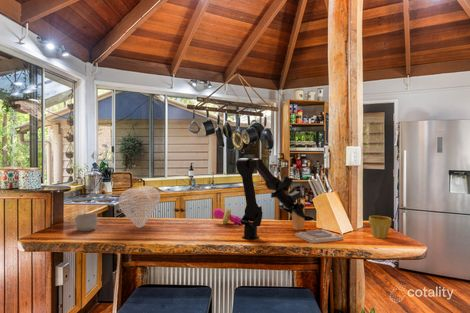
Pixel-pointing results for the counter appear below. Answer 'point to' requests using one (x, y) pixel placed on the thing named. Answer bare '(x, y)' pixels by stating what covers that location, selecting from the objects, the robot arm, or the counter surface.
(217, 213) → the toy
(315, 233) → the baseplate
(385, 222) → the plant pot
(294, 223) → the column brick
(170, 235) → the counter surface
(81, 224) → the teacup
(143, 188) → the heart
